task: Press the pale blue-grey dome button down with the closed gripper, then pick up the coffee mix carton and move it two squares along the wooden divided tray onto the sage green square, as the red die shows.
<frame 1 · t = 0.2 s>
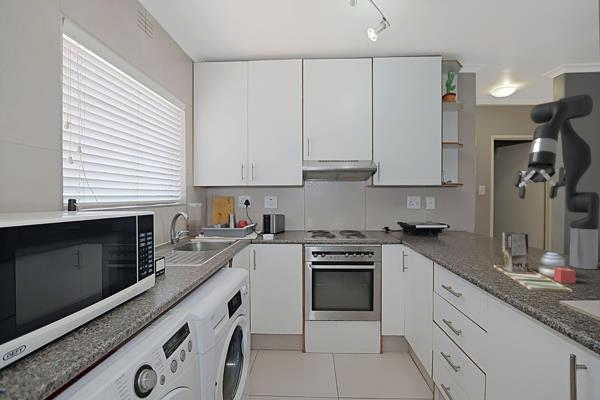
hand: (536, 198, 108), 31 cm above the worktop, tool tilted 20°, fingers open, 8 cm apart
dome: (552, 258, 129), point 6 cm above the worktop, slide at 0.0 cm
dome base: (552, 274, 129), on the worktop
wooden divided tray: (527, 277, 124), on the worktop
coffee box: (514, 271, 135), resting on wooden divided tray
red die: (564, 281, 118), on the worktop
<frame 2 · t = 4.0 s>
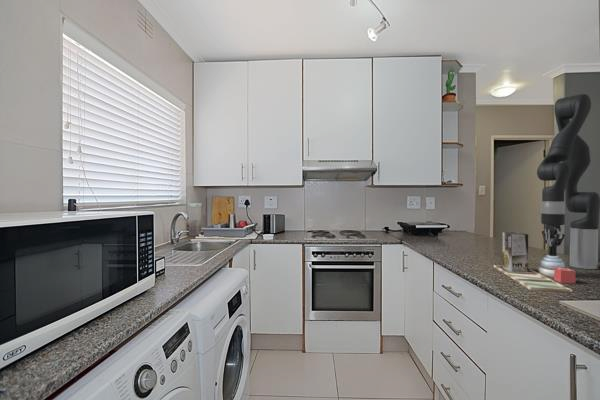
hand: (552, 255, 128), 8 cm above the worktop, tool pointing down, fingers closed
dome: (552, 261, 129), point 5 cm above the worktop, slide at 1.1 cm, touching gripper
everything else where it was.
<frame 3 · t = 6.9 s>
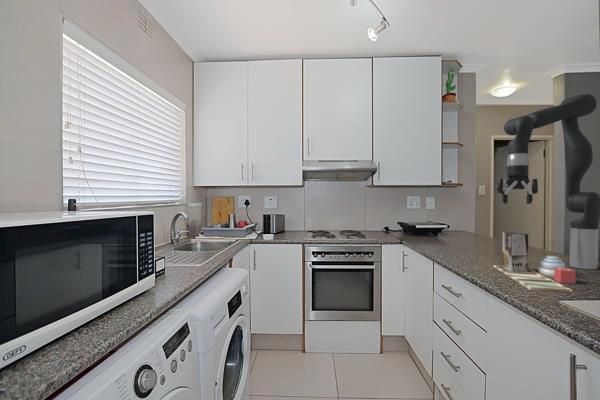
hand: (516, 203, 134), 28 cm above the worktop, tool pointing down, fingers open, 8 cm apart
dome: (552, 262, 129), point 5 cm above the worktop, slide at 1.5 cm
everything else where it was.
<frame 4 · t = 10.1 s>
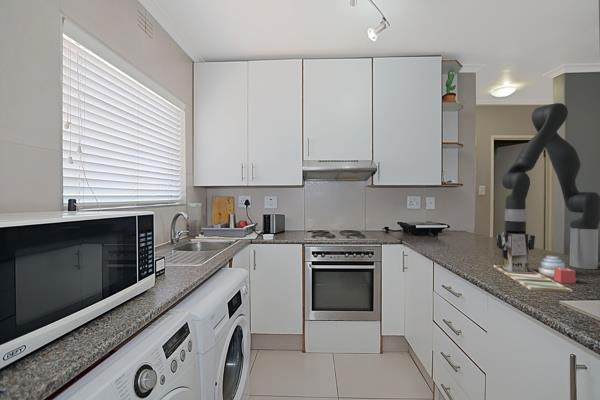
hand: (514, 259, 135), 5 cm above the worktop, tool pointing down, fingers closed on coffee box, 6 cm apart
coffee box: (514, 271, 135), resting on wooden divided tray, touching gripper
everything else where it was.
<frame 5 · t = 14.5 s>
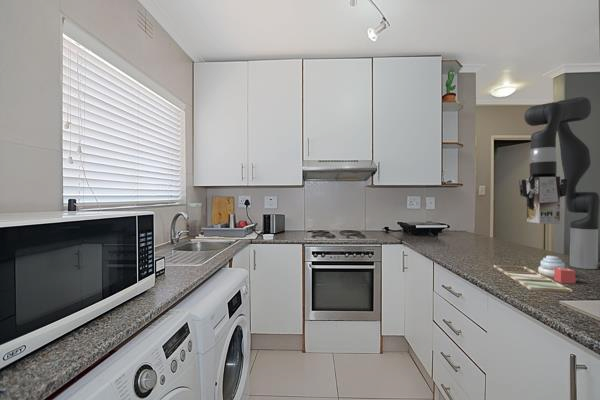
hand: (542, 208, 112), 27 cm above the worktop, tool pointing down, fingers closed on coffee box, 6 cm apart
coffee box: (542, 223, 112), point 22 cm above the worktop, touching gripper
everything else where it was.
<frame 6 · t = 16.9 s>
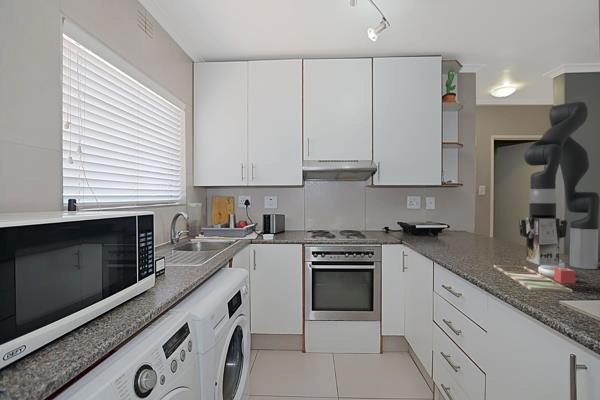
hand: (542, 249, 112), 13 cm above the worktop, tool pointing down, fingers closed on coffee box, 6 cm apart
coffee box: (542, 263, 112), point 8 cm above the worktop, touching gripper
everything else where it was.
when the fingers open (6 cm above the worktop, at t = 19.0 s): coffee box stays where it is, resting on wooden divided tray.
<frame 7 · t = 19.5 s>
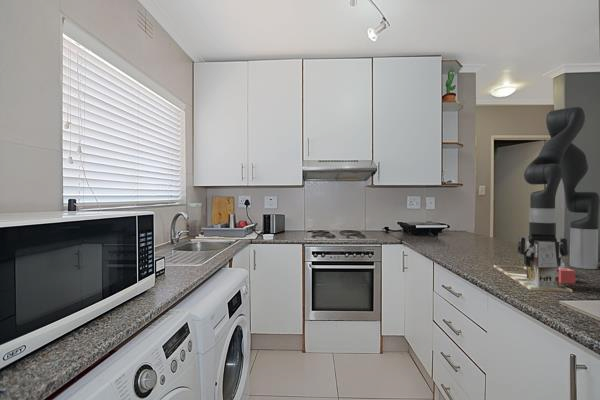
hand: (541, 267, 112), 7 cm above the worktop, tool pointing down, fingers open, 8 cm apart
coffee box: (541, 285, 113), resting on wooden divided tray
everything else where it was.
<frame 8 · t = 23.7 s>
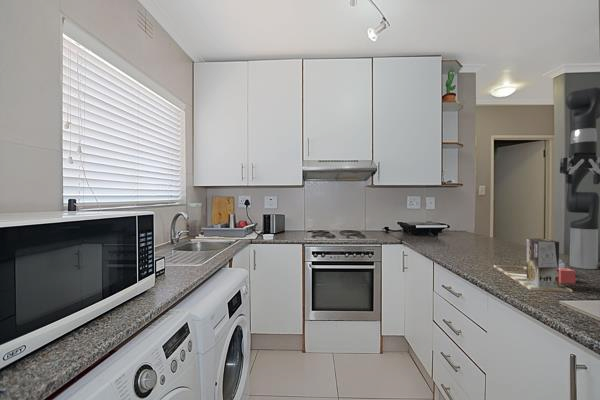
hand: (582, 184, 122), 36 cm above the worktop, tool pointing down, fingers open, 8 cm apart
nothing on the worktop moved.
at the end: dome slide at 1.5 cm; coffee box 0.2 cm from the target spot on the wooden divided tray, point 0.0 cm above the wooden divided tray's base; coffee box tilted 0° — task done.
